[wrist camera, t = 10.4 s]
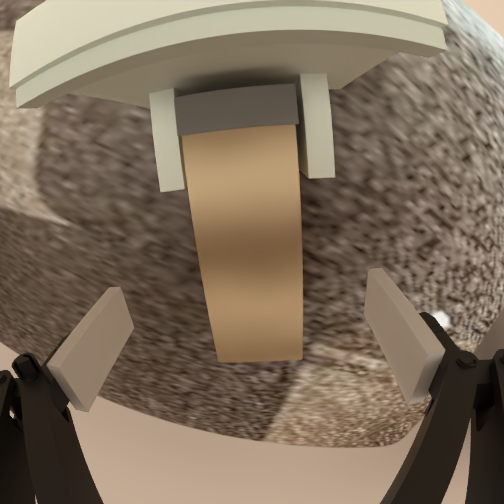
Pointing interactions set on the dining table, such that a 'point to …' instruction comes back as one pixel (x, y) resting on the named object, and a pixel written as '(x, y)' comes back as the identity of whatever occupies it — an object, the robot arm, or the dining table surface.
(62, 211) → the dining table surface
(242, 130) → the tan and grey block
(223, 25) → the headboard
